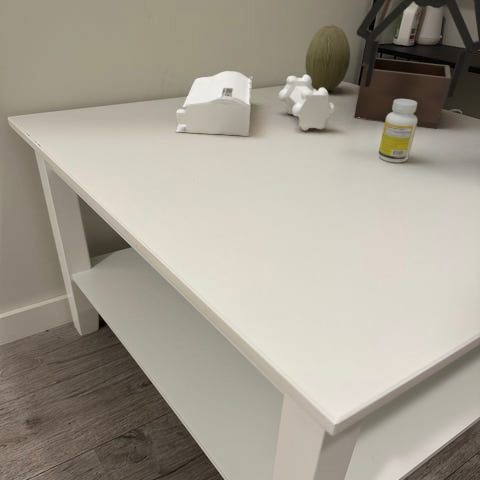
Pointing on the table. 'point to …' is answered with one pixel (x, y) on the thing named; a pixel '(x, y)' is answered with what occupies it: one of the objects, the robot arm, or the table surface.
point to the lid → (383, 15)
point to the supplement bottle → (398, 131)
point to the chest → (404, 90)
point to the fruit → (328, 58)
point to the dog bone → (306, 102)
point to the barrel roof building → (217, 105)
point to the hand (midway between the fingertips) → (407, 90)
